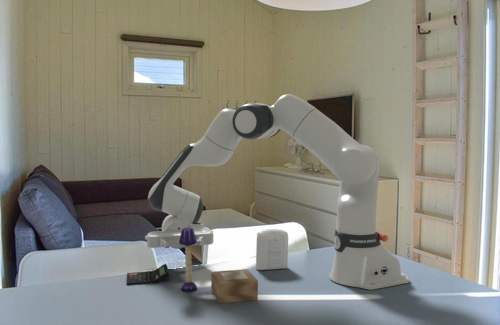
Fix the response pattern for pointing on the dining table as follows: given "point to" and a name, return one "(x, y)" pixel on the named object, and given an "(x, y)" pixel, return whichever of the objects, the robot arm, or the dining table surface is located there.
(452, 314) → the dining table surface
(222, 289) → the cardboard box
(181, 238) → the toy lamp
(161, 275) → the calculator
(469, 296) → the dining table surface
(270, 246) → the white upright block
